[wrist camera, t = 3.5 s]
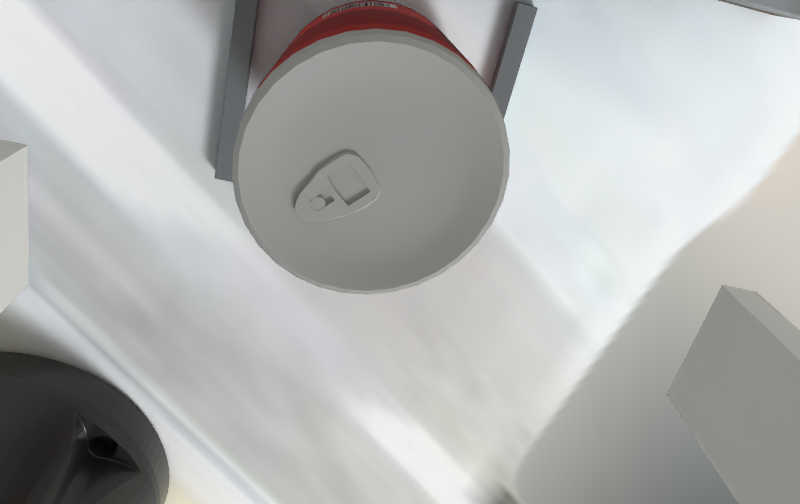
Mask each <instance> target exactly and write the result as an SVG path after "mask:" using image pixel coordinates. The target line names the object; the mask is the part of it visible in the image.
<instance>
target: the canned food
mask: <svg viewBox="0 0 800 504" xmlns="http://www.w3.org/2000/svg"><path fill="white" fill-rule="evenodd" d="M509 153H510V149H509V144H508V138H507V133H506V127H505V123H504V120H503V117H502V114H501V112H500V110H499V107H498V105H497V102H496V100H495V98H494V95H493V94H492V92H491V91H490V89H489V88H488V87H487V85H486V84H485V82H484V81H483V79H482V78H481V77H480V75H479V74H478V72H477V71H476V70H475V68H474V67H473V65H472V64H471V63H470V62H469V61H468V60H467V59H466V58H465V57H464V56H463V55H462V54H461V53H460V51H459V50H458V49H457V48H456V47H455V46H454V45H453V44H452V43H451V42H450V41H449V40H448V38H447V37H446V36H445V35H444V34H443V33H442V32H441V31H440V30H439V29H438V28H437V27H436V26H435V25H434V24H433V23H431V22H430V21H429V20H428V19H427V18H426V17H424V16H422V15H421V14H419V13H417V12H415V11H414V10H412V9H410V8H408V7H405V6H402V5H399V4H396V3H393V2H385V1H376V0H369V1H358V2H351V3H348V4H345V5H342V6H338V7H335V8H333V9H331V10H329V11H327V12H325V13H324V14H322V15H320V16H318V17H317V18H315V19H314V20H313V21H312V22H311V23H309V24H308V25H307V26H306V27H305V28H303V29H302V30H301V32H300V33H299V34H298V35H297V37H296V38H295V39H294V40H293V42H292V43H291V44H290V45H289V47H288V48H287V49H286V51H285V52H284V53H283V55H282V56H281V57H280V59H279V60H278V61H277V63H276V64H275V65H274V67H273V68H272V69H271V70H270V72H269V73H268V74H267V76H266V77H265V78H264V80H263V81H262V82H261V84H260V85H259V87H258V88H257V90H256V92H255V93H254V95H253V97H252V99H251V101H250V103H249V105H248V107H247V109H246V110H245V112H244V114H243V116H242V118H241V122H240V126H239V130H238V133H237V137H236V141H235V146H234V150H233V167H232V179H233V185H234V191H235V197H236V202H237V205H238V207H239V210H240V212H241V215H242V218H243V220H244V223H245V225H246V227H247V228H248V230H249V231H250V233H251V234H252V236H253V237H254V239H255V240H256V242H257V243H258V245H259V246H260V247H261V248H262V249H263V250H264V251H265V252H266V253H267V254H268V255H269V256H270V257H271V258H272V259H273V260H274V261H275V262H276V263H277V264H278V265H280V266H281V267H283V268H284V269H286V270H287V271H289V272H290V273H292V274H293V275H294V276H296V277H298V278H300V279H302V280H305V281H307V282H309V283H311V284H314V285H316V286H318V287H322V288H326V289H330V290H334V291H338V292H342V293H355V294H376V293H386V292H394V291H397V290H401V289H405V288H409V287H412V286H416V285H418V284H420V283H423V282H425V281H427V280H429V279H431V278H433V277H436V276H438V275H440V274H441V273H443V272H444V271H446V270H447V269H448V268H450V267H451V266H453V265H454V264H456V263H457V262H459V261H460V260H461V259H462V258H463V257H464V256H465V255H466V254H467V253H468V252H469V251H470V250H471V249H472V248H473V247H474V246H475V245H476V244H478V242H479V241H480V239H481V238H482V237H483V235H484V234H485V232H486V231H487V230H488V228H489V227H490V225H491V224H492V223H493V220H494V218H495V216H496V214H497V212H498V209H499V207H500V205H501V203H502V201H503V197H504V193H505V189H506V185H507V181H508V177H509Z"/></svg>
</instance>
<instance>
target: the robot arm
mask: <svg viewBox="0 0 800 504" xmlns="http://www.w3.org/2000/svg"><path fill="white" fill-rule="evenodd" d="M28 285H29V237H28V145H24V144H19V143H14V142H9V141H4V140H0V313H1V312H2V311H3V310H4V309H5V308H6V307H7V306H8V305H9V304H10V303H11V302H12V301H13V300H14V299H15V298H16V297H17V296H18V295H19V294H20V293H21V292H22V291H23V290H24V289H25V288H26V287H27V286H28ZM667 396H668V397H669V399H670V400H671V402H672V403H673V405H674V406H675V408H676V409H677V411H678V412H679V414H680V415H681V417H682V418H683V420H684V421H685V423H686V424H687V426H688V427H689V429H690V430H691V432H692V434H693V435H694V437H695V438H696V439H697V441H698V443H699V444H700V446H701V447H702V449H703V450H704V452H705V453H706V455H707V456H708V458H709V459H710V461H711V462H712V464H713V465H714V467H715V468H716V470H717V471H718V473H719V474H720V476H721V477H722V479H723V480H724V482H725V484H726V485H727V486H728V488H729V490H730V491H731V493H732V494H733V496H734V497H735V499H736V500H737V502H738V503H739V504H800V330H798V329H797V328H796V327H795V326H794V325H793V324H792V323H791V322H790V321H788V320H787V319H786V318H785V317H784V316H783V315H782V314H781V313H780V312H778V311H777V310H776V309H775V308H774V307H773V306H772V305H771V304H770V303H768V302H767V301H766V300H765V299H764V298H763V297H762V296H761V295H760V294H758V293H757V292H755V291H750V290H745V289H740V288H735V287H730V286H725V285H722V287H721V289H720V291H719V292H718V294H717V296H716V298H715V300H714V302H713V304H712V306H711V308H710V310H709V312H708V314H707V316H706V318H705V320H704V322H703V324H702V326H701V328H700V330H699V332H698V334H697V336H696V338H695V340H694V342H693V344H692V346H691V348H690V349H689V352H688V353H687V356H686V358H685V359H684V361H683V363H682V365H681V367H680V369H679V371H678V373H677V375H676V377H675V379H674V381H673V383H672V385H671V387H670V389H669V391H668V393H667ZM168 487H169V467H168V461H167V457H166V453H165V450H164V448H163V445H162V443H161V441H160V439H159V437H158V435H157V433H156V431H155V430H154V428H153V427H152V425H151V424H150V422H149V421H148V420H147V419H146V417H145V416H144V415H143V414H142V413H141V412H140V411H139V409H138V408H137V407H136V406H134V405H133V404H132V403H131V402H130V401H129V400H128V399H127V398H126V397H124V396H123V395H122V394H121V393H119V392H118V391H117V390H115V389H114V388H112V387H111V386H109V385H108V384H106V383H105V382H103V381H101V380H99V379H98V378H96V377H94V376H92V375H90V374H88V373H86V372H84V371H82V370H79V369H77V368H75V367H72V366H69V365H66V364H64V363H61V362H57V361H54V360H50V359H46V358H42V357H38V356H32V355H26V354H19V353H6V352H0V504H164V502H165V500H166V496H167V493H168Z"/></svg>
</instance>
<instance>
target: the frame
mask: <svg viewBox="0 0 800 504" xmlns="http://www.w3.org/2000/svg"><path fill="white" fill-rule="evenodd" d="M258 7H259V0H236V7H235V15H234V23H233V32H232V40H231V48H230V56H229V65H228V73H227V81H226V89H225V98H224V106H223V114H222V123H221V131H220V139H219V147H218V156H217V164H216V172H215V178H216V179H221V180H226V181H231V182H233V179H232V167H233V150H234V146H235V141H236V137H237V133H238V130H239V126H240V122H241V118H242V116H243V114H244V110H245V103H246V95H247V88H248V81H249V73H250V66H251V58H252V51H253V44H254V36H255V29H256V21H257V14H258ZM536 12H537V8H536V7H534V6H530V5H526V4H522V3H518V2H516V3H515V6H514V10H513V13H512V17H511V20H510V24H509V27H508V30H507V34H506V37H505V41H504V44H503V48H502V51H501V54H500V58H499V61H498V65H497V68H496V72H495V75H494V78H493V82H492V85H491V89H490V91H491V92H492V94H493V95H494V98H495V100H496V102H497V105H498V107H499V110H500V112H501V114H502V117H503V119H504V116H505V113H506V110H507V106H508V103H509V100H510V97H511V93H512V90H513V87H514V83H515V80H516V77H517V74H518V70H519V67H520V64H521V61H522V57H523V54H524V51H525V48H526V44H527V41H528V38H529V35H530V31H531V28H532V25H533V21H534V18H535V15H536Z"/></svg>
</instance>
